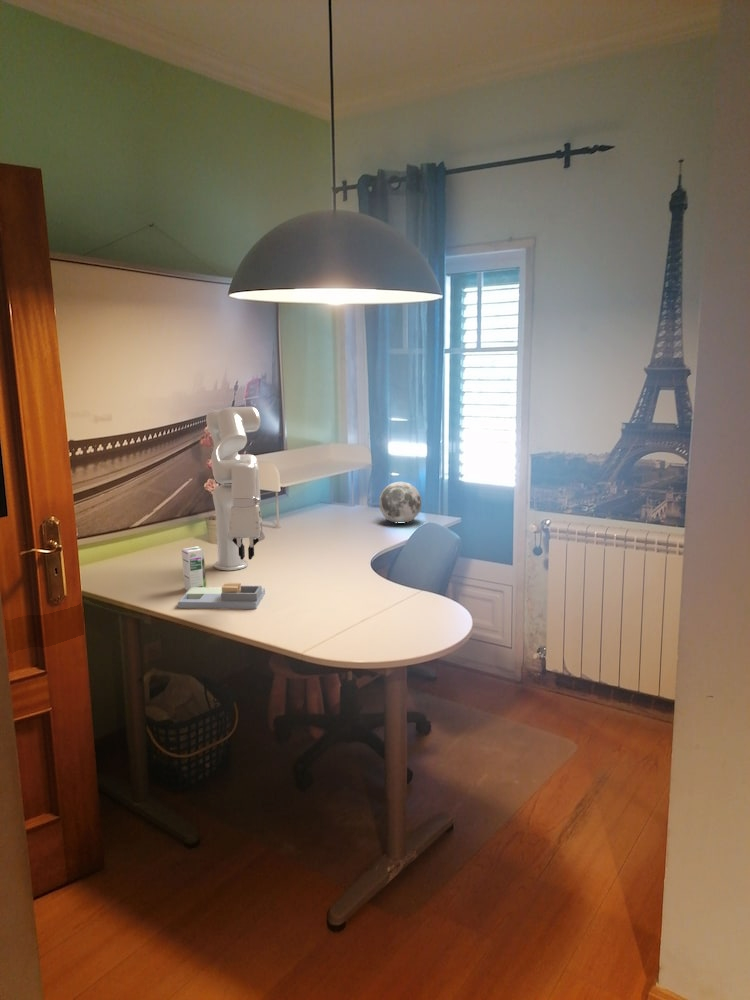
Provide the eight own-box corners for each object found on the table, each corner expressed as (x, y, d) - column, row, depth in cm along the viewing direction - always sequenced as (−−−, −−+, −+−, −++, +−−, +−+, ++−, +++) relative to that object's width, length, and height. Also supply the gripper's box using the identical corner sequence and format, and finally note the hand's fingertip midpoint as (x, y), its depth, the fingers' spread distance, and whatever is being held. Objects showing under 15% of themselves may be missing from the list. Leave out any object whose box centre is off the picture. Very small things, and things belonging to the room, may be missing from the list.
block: (226, 594, 241) (225, 582, 240) (241, 594, 240) (240, 582, 240) (222, 599, 236) (221, 587, 235) (237, 599, 236) (237, 587, 235)
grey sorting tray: (191, 592, 248) (191, 580, 248) (264, 593, 247) (264, 580, 247) (178, 607, 234) (177, 594, 233) (256, 608, 233) (255, 595, 232)
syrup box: (190, 592, 248) (188, 551, 246) (183, 588, 253) (181, 547, 250) (206, 589, 252) (204, 548, 249) (199, 585, 256) (197, 545, 254)
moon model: (377, 518, 359) (377, 478, 355) (418, 518, 360) (418, 478, 356) (380, 528, 339) (380, 485, 335) (423, 527, 340) (424, 485, 336)
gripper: (271, 500, 235) (273, 555, 239) (222, 499, 236) (224, 555, 239) (267, 504, 228) (269, 561, 231) (216, 504, 228) (219, 561, 232)
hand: (246, 557), depth 235 cm, fingers closed
